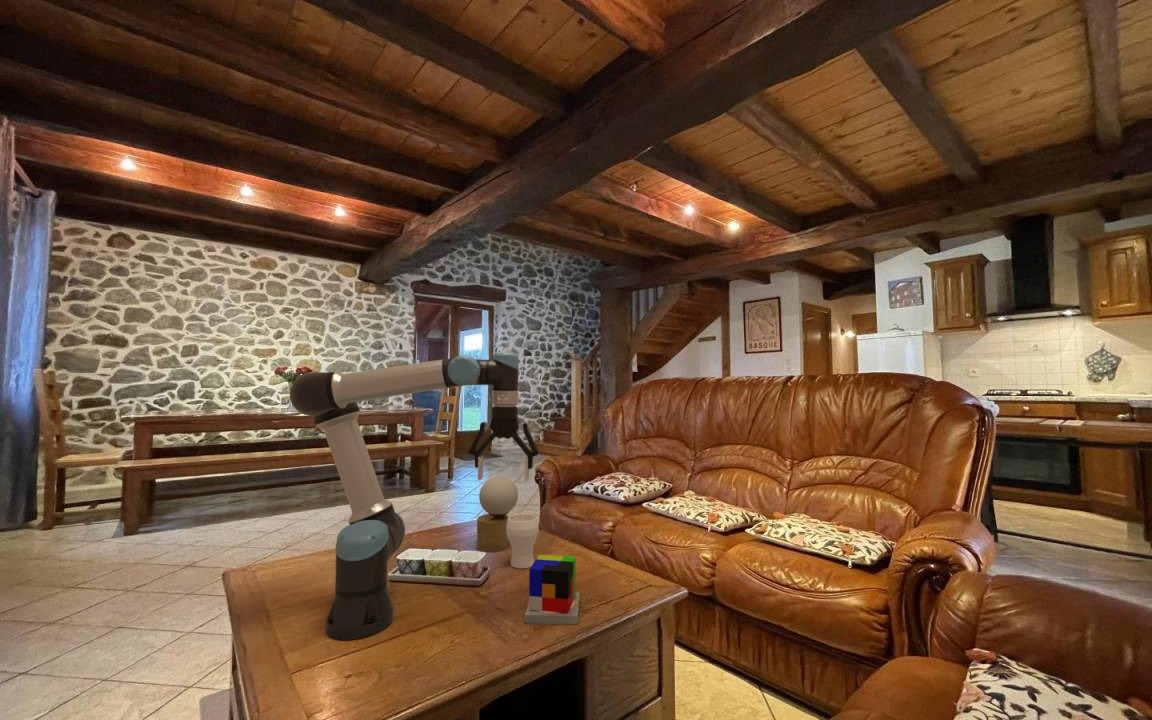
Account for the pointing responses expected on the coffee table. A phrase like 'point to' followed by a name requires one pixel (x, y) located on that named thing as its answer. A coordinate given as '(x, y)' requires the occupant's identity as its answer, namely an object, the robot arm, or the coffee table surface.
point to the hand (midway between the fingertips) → (503, 479)
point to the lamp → (495, 513)
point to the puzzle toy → (552, 583)
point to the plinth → (554, 615)
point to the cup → (522, 538)
